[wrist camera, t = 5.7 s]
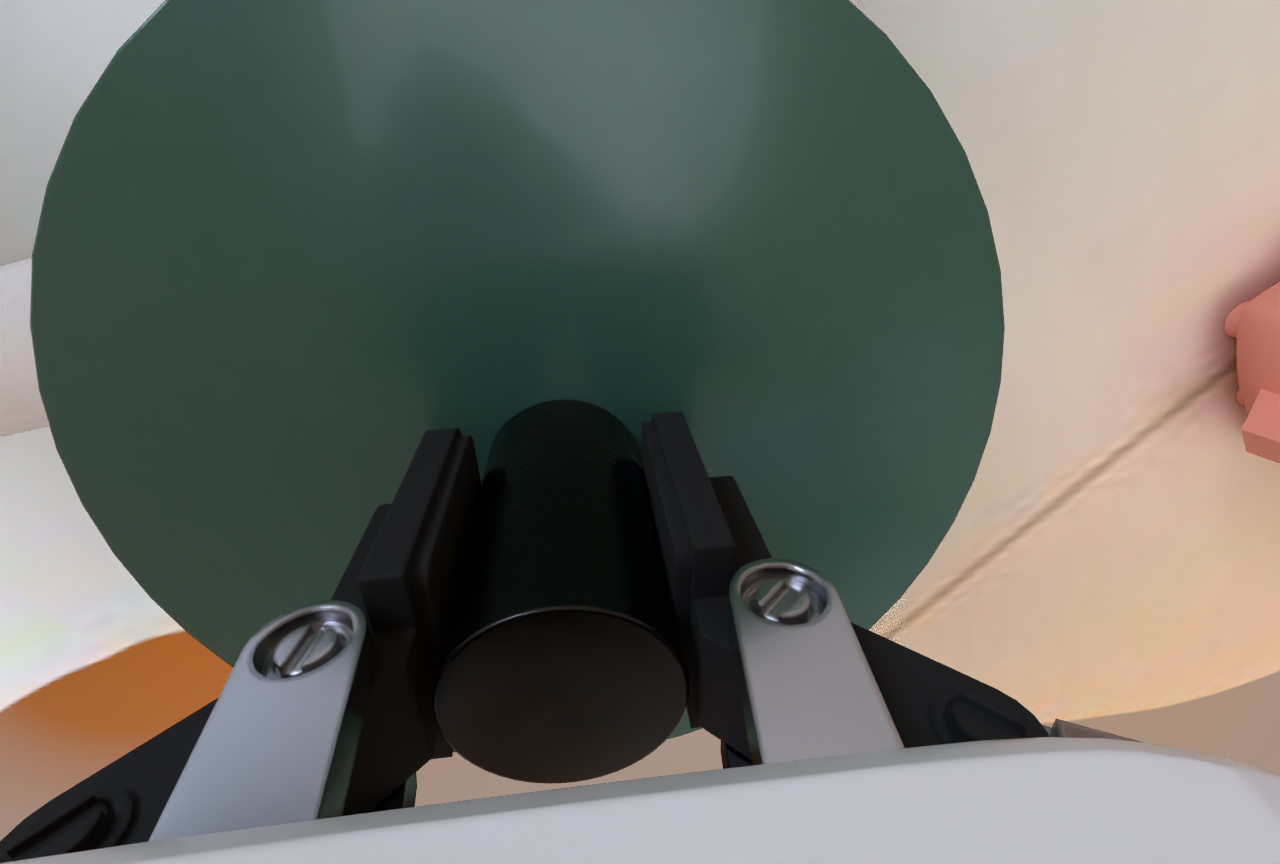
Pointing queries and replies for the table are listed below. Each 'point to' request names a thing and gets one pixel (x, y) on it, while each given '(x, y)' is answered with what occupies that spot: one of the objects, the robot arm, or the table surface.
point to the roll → (18, 354)
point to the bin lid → (514, 321)
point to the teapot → (1259, 370)
